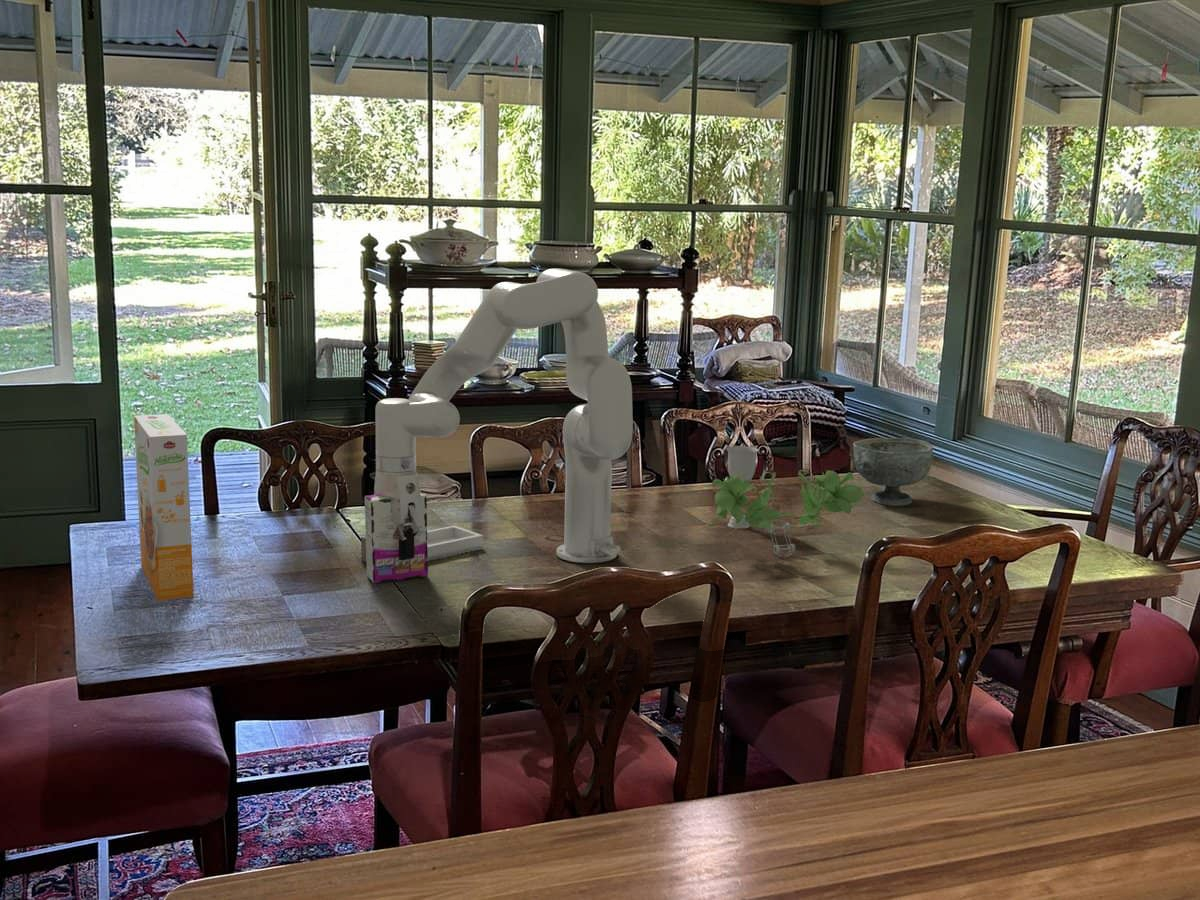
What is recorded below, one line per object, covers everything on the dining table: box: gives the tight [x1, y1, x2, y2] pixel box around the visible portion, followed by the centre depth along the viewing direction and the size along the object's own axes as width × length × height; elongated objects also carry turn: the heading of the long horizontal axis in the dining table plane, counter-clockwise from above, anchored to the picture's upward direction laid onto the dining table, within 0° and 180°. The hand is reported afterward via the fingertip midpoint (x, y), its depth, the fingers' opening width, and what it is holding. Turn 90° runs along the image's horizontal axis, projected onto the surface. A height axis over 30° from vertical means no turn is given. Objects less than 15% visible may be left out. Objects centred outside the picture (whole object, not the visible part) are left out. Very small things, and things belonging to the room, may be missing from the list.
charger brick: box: [360, 535, 367, 563], centre depth 247 cm, size 4×4×6 cm
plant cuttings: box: [703, 469, 866, 557], centre depth 262 cm, size 35×17×22 cm
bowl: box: [852, 437, 934, 507], centre depth 308 cm, size 20×19×15 cm
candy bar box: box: [364, 491, 429, 584], centre depth 236 cm, size 11×5×16 cm, turn 118°
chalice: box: [726, 445, 759, 529], centre depth 280 cm, size 7×7×18 cm
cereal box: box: [133, 413, 195, 601], centre depth 229 cm, size 22×6×30 cm, turn 27°
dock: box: [427, 525, 484, 562], centre depth 256 cm, size 10×16×3 cm, turn 133°
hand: (396, 554), depth 237 cm, fingers closed on candy bar box, 5 cm apart
